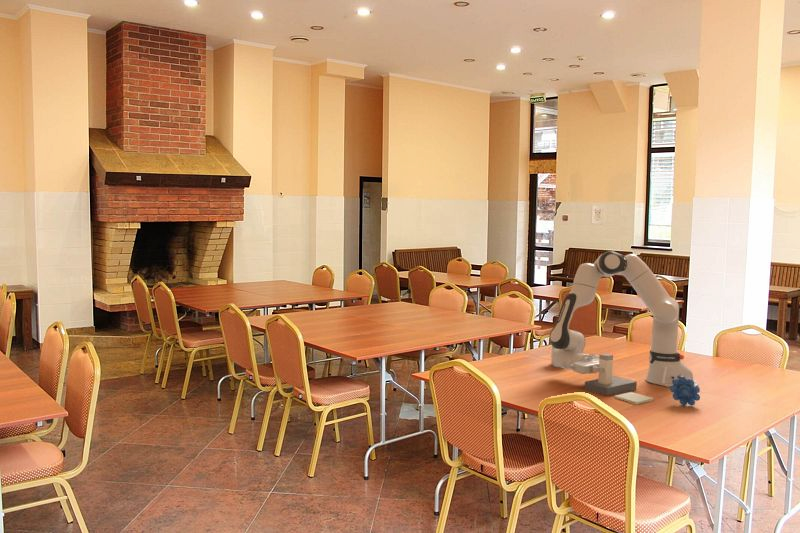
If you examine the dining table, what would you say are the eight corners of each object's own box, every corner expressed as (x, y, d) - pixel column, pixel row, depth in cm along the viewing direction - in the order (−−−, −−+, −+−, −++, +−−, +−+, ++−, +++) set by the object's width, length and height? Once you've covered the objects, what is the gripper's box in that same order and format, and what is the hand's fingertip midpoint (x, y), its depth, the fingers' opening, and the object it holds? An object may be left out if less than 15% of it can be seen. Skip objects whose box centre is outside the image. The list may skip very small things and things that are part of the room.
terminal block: (613, 383, 310) (614, 375, 309) (636, 389, 300) (636, 381, 299) (584, 389, 298) (584, 381, 298) (606, 396, 288) (607, 388, 288)
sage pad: (630, 394, 292) (630, 391, 292) (653, 400, 283) (653, 398, 283) (614, 398, 286) (614, 395, 286) (636, 404, 277) (636, 402, 277)
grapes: (669, 406, 275) (670, 377, 274) (668, 402, 281) (670, 373, 280) (700, 410, 271) (702, 380, 270) (699, 405, 278) (700, 376, 276)
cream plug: (603, 389, 299) (605, 353, 298) (611, 391, 296) (613, 355, 295) (597, 390, 297) (599, 354, 296) (605, 392, 294) (607, 356, 292)
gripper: (566, 359, 300) (591, 365, 289) (597, 353, 312) (622, 359, 300) (566, 373, 301) (591, 380, 289) (596, 367, 312) (621, 373, 301)
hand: (607, 369), depth 295 cm, fingers closed on cream plug, 4 cm apart
